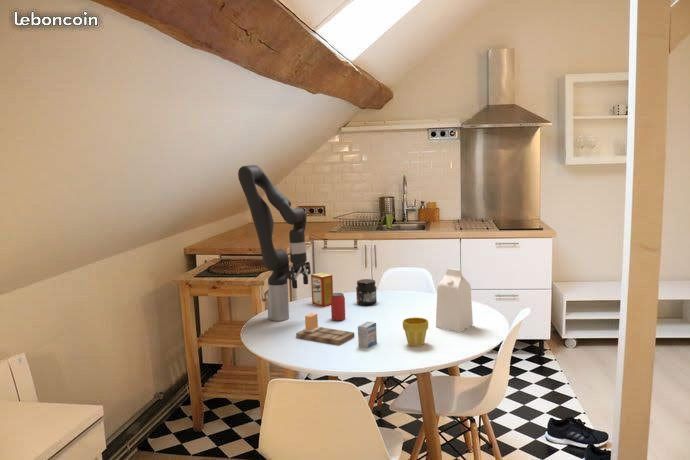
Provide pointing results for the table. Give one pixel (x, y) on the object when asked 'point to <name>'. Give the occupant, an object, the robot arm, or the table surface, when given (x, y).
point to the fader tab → (311, 323)
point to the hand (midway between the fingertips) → (300, 286)
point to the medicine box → (367, 334)
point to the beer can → (338, 306)
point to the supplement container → (366, 292)
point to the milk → (454, 302)
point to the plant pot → (415, 330)
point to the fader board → (327, 336)
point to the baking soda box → (321, 289)
